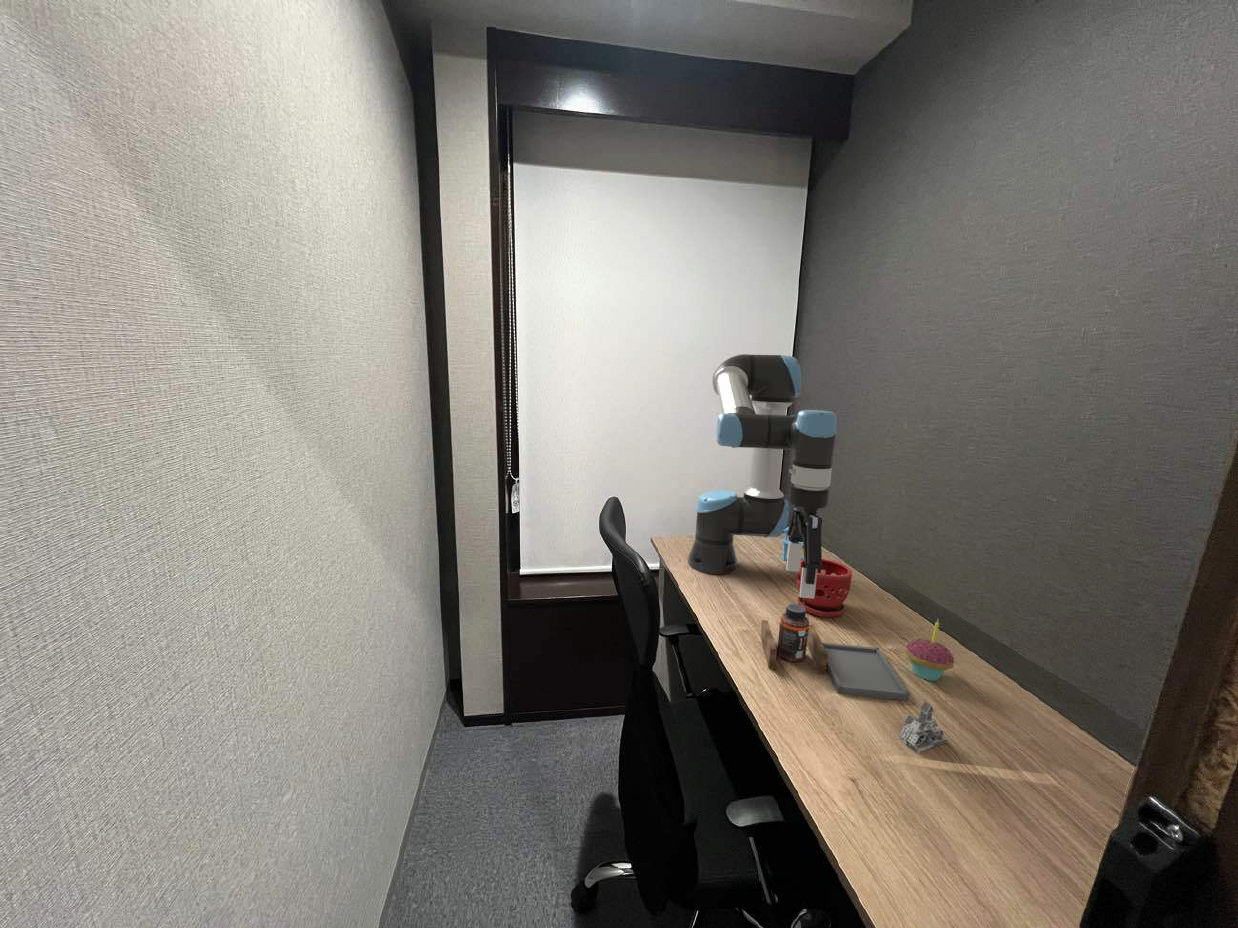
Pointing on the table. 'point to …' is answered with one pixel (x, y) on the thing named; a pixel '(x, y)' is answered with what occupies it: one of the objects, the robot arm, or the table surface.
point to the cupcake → (929, 657)
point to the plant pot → (827, 589)
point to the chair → (785, 543)
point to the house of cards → (922, 730)
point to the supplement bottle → (793, 633)
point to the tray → (863, 672)
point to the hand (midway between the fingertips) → (799, 583)
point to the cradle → (812, 643)
